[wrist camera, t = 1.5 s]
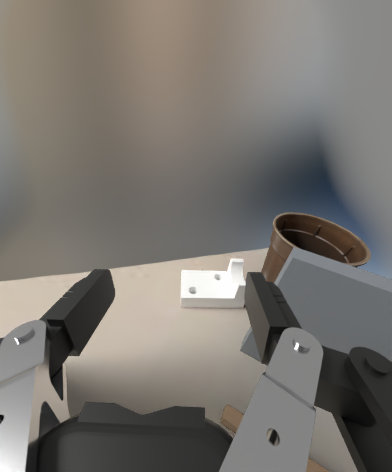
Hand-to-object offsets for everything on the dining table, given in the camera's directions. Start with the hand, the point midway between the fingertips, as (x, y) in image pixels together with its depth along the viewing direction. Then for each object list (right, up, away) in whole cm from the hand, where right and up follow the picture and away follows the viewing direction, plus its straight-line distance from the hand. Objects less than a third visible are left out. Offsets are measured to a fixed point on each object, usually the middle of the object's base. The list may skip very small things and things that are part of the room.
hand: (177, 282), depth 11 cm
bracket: (+4, -10, +30) cm, 32 cm away
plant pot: (+22, -10, +33) cm, 41 cm away
